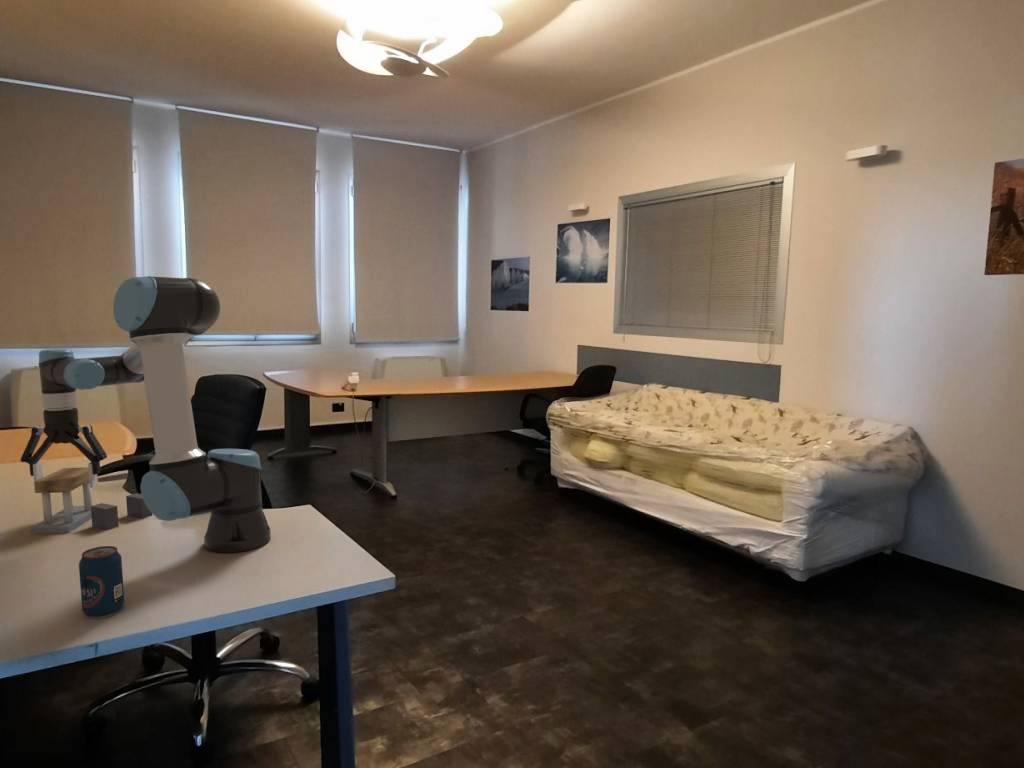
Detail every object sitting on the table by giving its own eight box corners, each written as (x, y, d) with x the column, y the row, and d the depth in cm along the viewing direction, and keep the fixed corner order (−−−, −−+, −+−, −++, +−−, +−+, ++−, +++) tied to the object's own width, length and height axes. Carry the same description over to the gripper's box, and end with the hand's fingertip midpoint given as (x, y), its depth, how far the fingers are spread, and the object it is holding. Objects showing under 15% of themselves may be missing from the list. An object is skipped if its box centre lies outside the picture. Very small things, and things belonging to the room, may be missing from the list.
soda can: (73, 618, 126) (68, 556, 124) (101, 602, 133) (97, 543, 131) (106, 621, 125) (101, 559, 123) (133, 604, 131) (129, 546, 130)
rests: (152, 515, 185) (151, 495, 184) (107, 529, 173) (106, 509, 173) (137, 512, 188) (136, 493, 187) (92, 526, 176) (90, 506, 175)
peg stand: (103, 510, 189) (101, 475, 188) (69, 532, 171) (66, 494, 170) (69, 511, 188) (66, 476, 187) (31, 533, 170) (28, 495, 169)
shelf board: (95, 477, 186) (95, 467, 185) (68, 492, 172) (67, 480, 171) (64, 478, 185) (64, 467, 184) (35, 493, 171) (34, 481, 171)
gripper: (117, 405, 181) (122, 481, 183) (17, 406, 178) (24, 484, 181) (103, 409, 173) (109, 489, 176) (-1, 411, 170) (7, 492, 173)
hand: (66, 487), depth 178 cm, fingers open, 13 cm apart
